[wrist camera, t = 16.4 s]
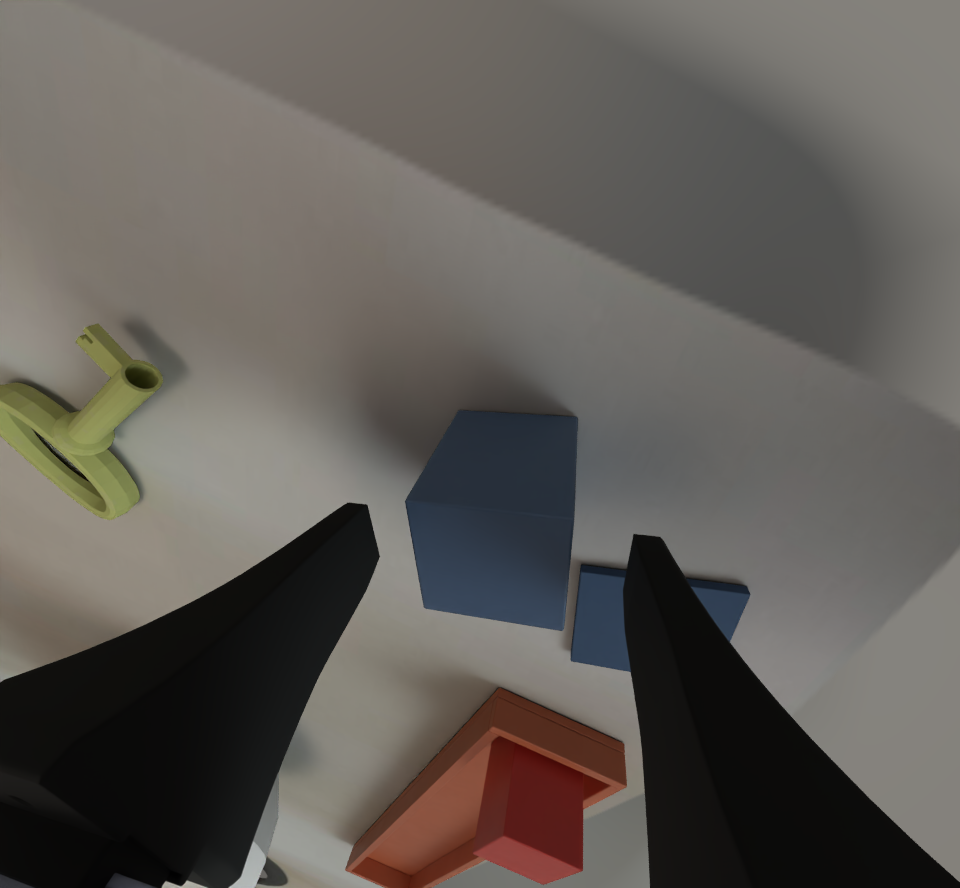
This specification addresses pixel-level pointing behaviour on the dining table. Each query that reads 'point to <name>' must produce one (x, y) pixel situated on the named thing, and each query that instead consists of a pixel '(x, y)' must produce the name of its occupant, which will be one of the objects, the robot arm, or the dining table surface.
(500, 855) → the red block
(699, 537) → the dining table surface
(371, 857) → the red tray
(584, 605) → the blue mat
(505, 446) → the blue block
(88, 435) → the key
